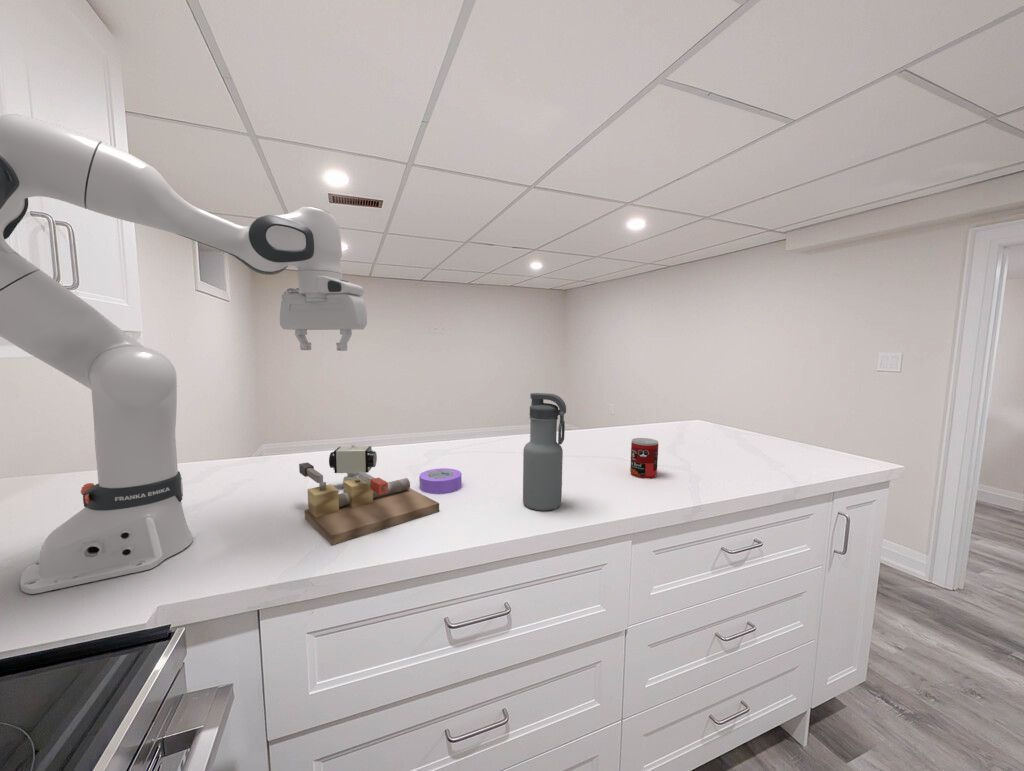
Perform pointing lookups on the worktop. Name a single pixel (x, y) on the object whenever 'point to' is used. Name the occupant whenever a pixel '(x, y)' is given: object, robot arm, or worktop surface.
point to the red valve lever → (373, 482)
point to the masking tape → (440, 481)
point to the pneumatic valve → (352, 460)
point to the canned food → (644, 457)
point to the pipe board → (361, 507)
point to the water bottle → (544, 454)
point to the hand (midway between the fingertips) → (323, 350)
